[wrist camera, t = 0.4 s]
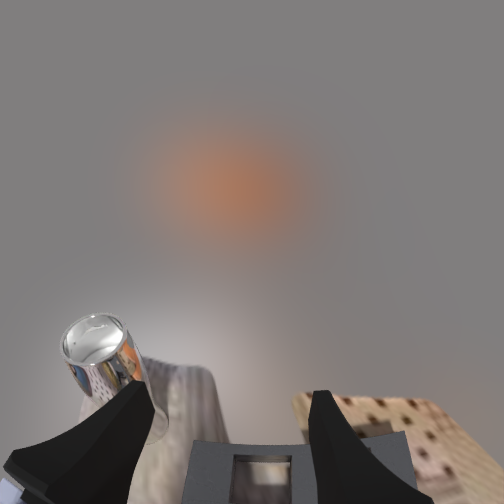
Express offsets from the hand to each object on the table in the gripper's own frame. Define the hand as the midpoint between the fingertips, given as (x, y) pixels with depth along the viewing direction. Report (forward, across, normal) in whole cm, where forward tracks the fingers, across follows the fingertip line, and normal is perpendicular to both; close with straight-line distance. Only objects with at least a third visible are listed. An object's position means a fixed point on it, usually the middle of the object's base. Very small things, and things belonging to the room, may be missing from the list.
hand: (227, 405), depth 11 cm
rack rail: (+4, -5, +19) cm, 20 cm away
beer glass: (+10, +13, +18) cm, 24 cm away
